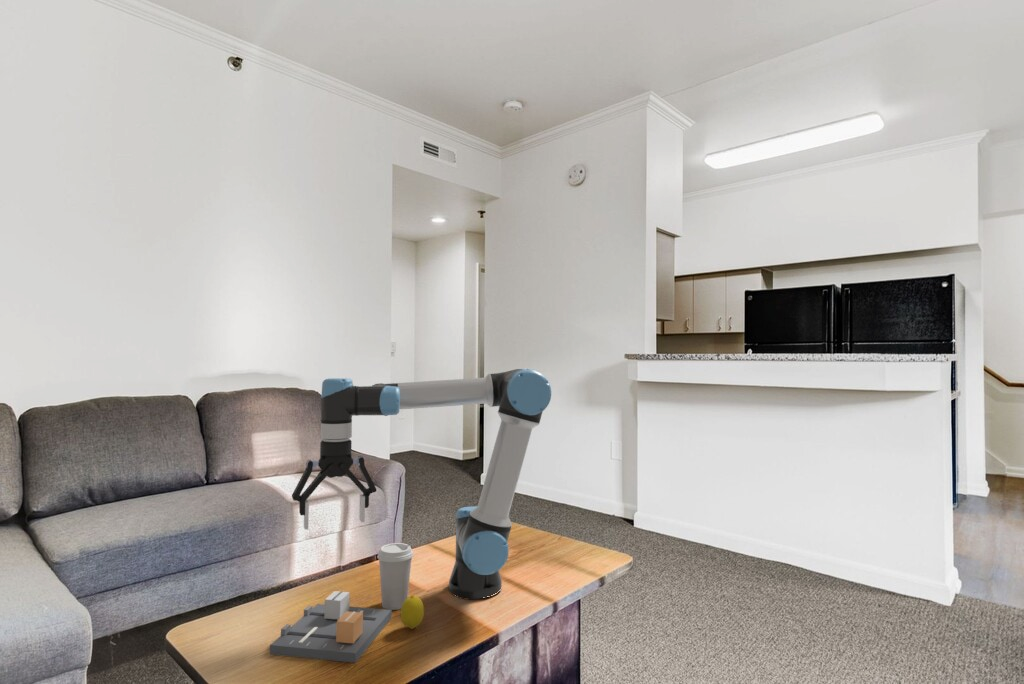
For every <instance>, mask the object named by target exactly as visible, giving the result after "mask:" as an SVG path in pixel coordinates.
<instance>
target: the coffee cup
mask: <svg viewBox="0 0 1024 684" xmlns="http://www.w3.org/2000/svg"><path fill="white" fill-rule="evenodd" d="M411 547H412V546H411V545H410V544H407V543H404V542H403V543H402V542H392V543H387V544H385V545H382V546H381V547H380V550H379V551H378V553H377V556H376V557H377V559H378V563H379V577H380V578H379V579H380V580H379V581H380V595H381V607H382V609H385V610H392V611H397V610H401V608H402V605H403V603H404V601H405V600H406V599H407V598H409V597H408V596H409V587H410V578H411V577H410V575H411V569H412V567H411V566H412V561H413V560H412V558H413V557H414V551H413V549H412V548H411Z"/></svg>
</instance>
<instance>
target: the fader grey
mask: <svg viewBox="0 0 1024 684" xmlns="http://www.w3.org/2000/svg"><path fill="white" fill-rule="evenodd" d="M324 604H325V615H324V618H326V619H337V620H339V619H340V618H341V617H342V616H343V615H344V614H345V613H346V612H347V611H349V607H350V592H349V591H343V590H340V591H339V590H338V591H337V590H334V591H333V592H332V593H331V594H329V595H328V596H327V597H326V598H324Z"/></svg>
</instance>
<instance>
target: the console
mask: <svg viewBox="0 0 1024 684" xmlns="http://www.w3.org/2000/svg"><path fill="white" fill-rule="evenodd" d="M392 611H393V610H387V609H384V608H371V607H360V606H349V612H360V613H363V633H362V634H361V635H360V636H359V637H358V639H357V640H356V641H355V642H354V643H353V644H352V643H342V642H336V631H337V621H338V620H337V619H326V618H324V615H325V603H317V604H316V605H314V606H313V605H308V606H307V607H305V608H304V609H303V616H302V617H301V618H300V619H298V620H297V621H296V622H295V623H294V624H292V625H291V624H290V623H286V624H285V625H284V626H283V627H281V629H280V636H279V637H278V638H277V639H275V640H274V641H273V642H272V643H270V645H269V654H270V655H277V656H286V657H295V658H302V659H303V658H305V659H314V660H324V661H325V660H326V661H334V662H344V663H345V662H346V663H353V664H354V663H355V664H356V663H357V662H358V661H359V659H360V658H361V657H362V656H363V655H364V653H365V651H367V649H368V648H369V647H370V645H371V644H372V643H373V642H374V641H375V640H376V638H377V637H378V636H379V634H380V633H381V632H382V631H383V629H384V628H386V626H387V624H388V623H389V622H390V620H392V613H393V612H392Z"/></svg>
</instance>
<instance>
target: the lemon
mask: <svg viewBox="0 0 1024 684" xmlns="http://www.w3.org/2000/svg"><path fill="white" fill-rule="evenodd" d="M424 616H425V607H424V604H423V601H422V600H421V598H419V597H418V596H415V595H413V594H411V595H410V596H409V597H408V598H407V599H406V600H405V601H404V603H403V605H402V608H401V609H400V618H401V622H402V623H403V625H404V626H405V627H407V628H409V629H410V630H413V629H415V627H418V626H419V625H420V624H422V621H423V619H424Z"/></svg>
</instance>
